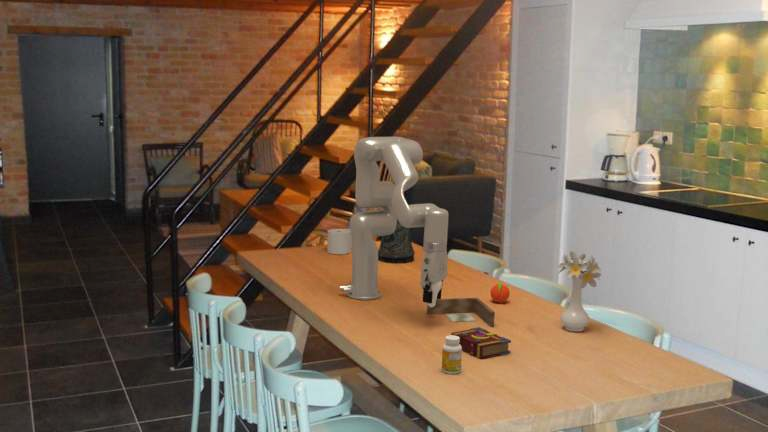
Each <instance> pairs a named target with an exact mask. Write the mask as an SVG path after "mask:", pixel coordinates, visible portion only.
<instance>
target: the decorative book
mask: <svg viewBox="0 0 768 432" xmlns="http://www.w3.org/2000/svg"><path fill="white" fill-rule="evenodd" d="M450 335H454V336H458V337H460V342H459V344H460V345H461V347H462V352H463V351H464V352H466V353H468V354H469V355H470V356H471V357H474V358H475V357H476V358H479V359H482V360H483V359H486V358H492V357H497V356H505V355H506V356H507V355H509V354H510V355H511V351H510V350H509V344H511V343H512V340H511V339H509V338H506V337H504V336H500V335H498V334H497V333H496V332H494V331H493V332H491V331H487V329H485V328H482V327H480V326H478V327H472V328H469V329H466V330H464V329H463V330H460V331H459V330H458V331H453V332H451V334H450Z"/></svg>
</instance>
